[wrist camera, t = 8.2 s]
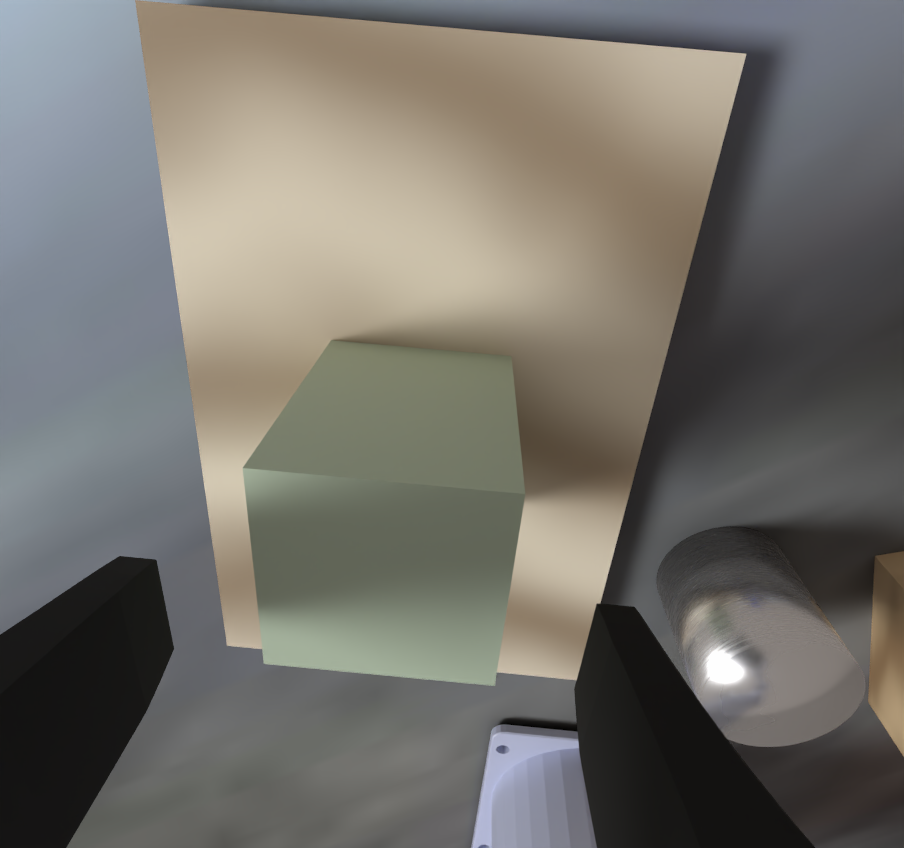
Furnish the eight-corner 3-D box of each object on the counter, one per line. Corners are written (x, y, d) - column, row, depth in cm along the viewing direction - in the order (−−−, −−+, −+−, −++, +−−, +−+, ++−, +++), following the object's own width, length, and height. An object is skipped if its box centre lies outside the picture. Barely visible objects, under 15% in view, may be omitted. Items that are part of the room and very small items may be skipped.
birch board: (575, 651, 21) (579, 680, 20) (240, 618, 21) (227, 645, 20) (724, 59, 12) (746, 53, 11) (164, 10, 13) (135, 0, 12)
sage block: (492, 504, 17) (494, 685, 11) (334, 490, 17) (264, 663, 11) (511, 356, 15) (525, 494, 9) (331, 340, 15) (242, 468, 9)
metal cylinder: (761, 626, 20) (829, 753, 16) (643, 615, 20) (682, 739, 16) (803, 532, 18) (892, 651, 14) (673, 520, 18) (726, 635, 14)
